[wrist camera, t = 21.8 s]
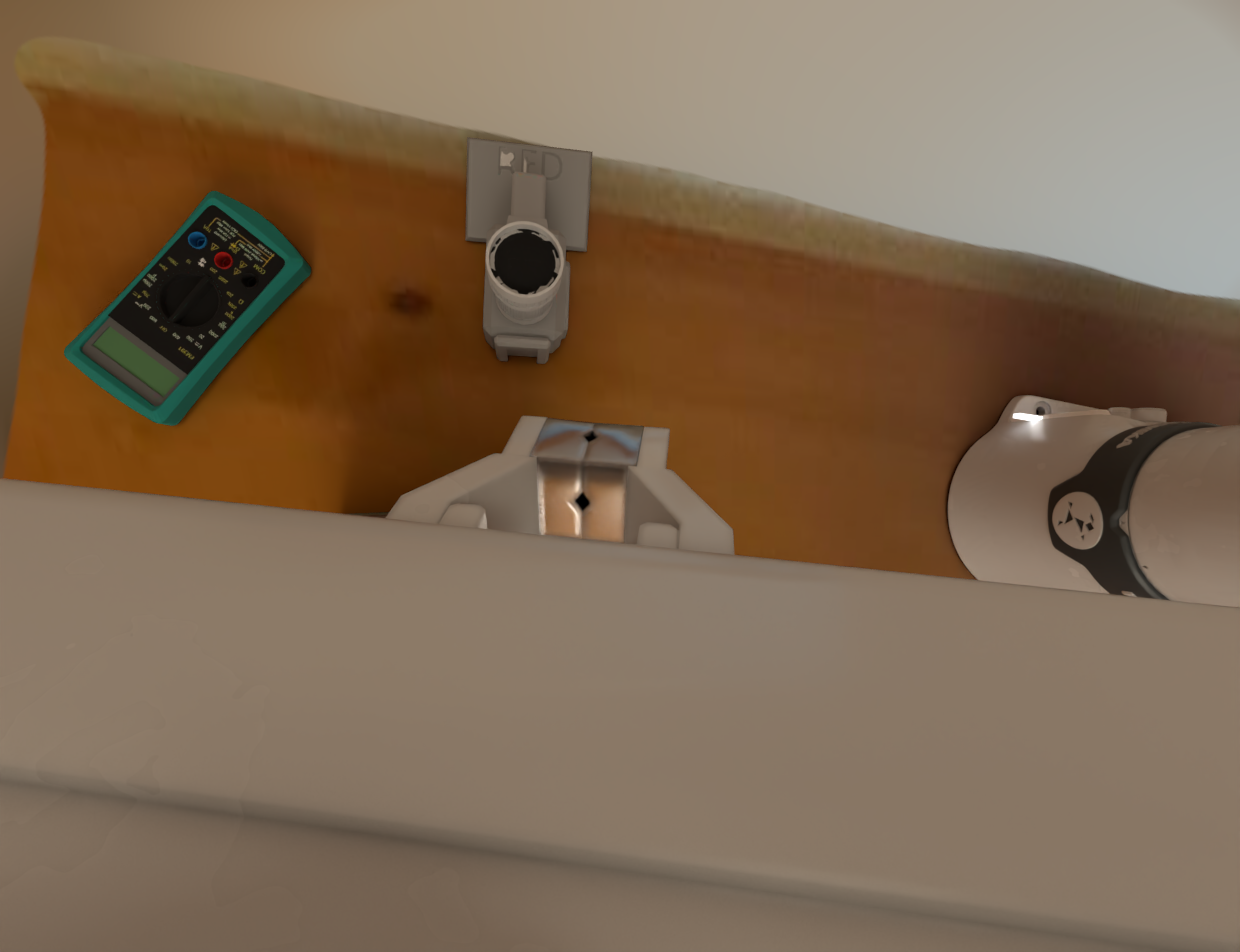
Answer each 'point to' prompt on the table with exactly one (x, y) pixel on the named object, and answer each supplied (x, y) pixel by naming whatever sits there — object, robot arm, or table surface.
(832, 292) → the table surface
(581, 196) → the camera
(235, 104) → the table surface
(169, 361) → the digital multimeter
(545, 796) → the robot arm
